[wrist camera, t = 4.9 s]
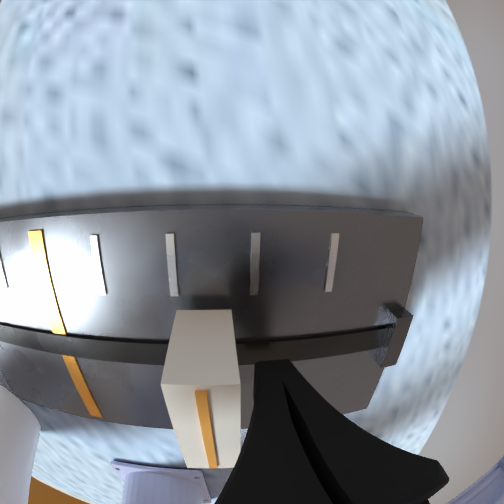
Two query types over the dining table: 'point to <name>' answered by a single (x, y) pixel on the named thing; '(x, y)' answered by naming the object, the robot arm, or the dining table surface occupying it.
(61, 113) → the dining table surface
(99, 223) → the console
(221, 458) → the block
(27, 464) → the foam cup
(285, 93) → the dining table surface
